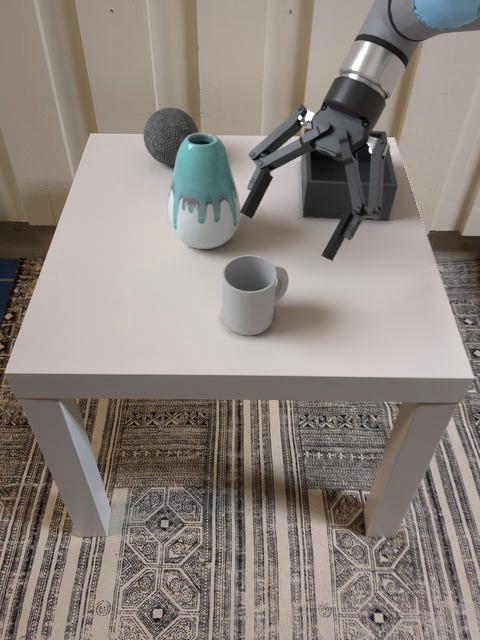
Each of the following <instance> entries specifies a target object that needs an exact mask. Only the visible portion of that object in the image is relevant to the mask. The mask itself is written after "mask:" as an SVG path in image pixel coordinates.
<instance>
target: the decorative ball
mask: <svg viewBox="0 0 480 640" xmlns="http://www.w3.org/2000/svg"><path fill="white" fill-rule="evenodd" d="M194 133H199V130H198V126H197V124H196V123H195V121H194V119H193V118H192V116H190V114H188V113H187V112H186V111H184V110H182V109H180V108H176V107H164V108H160V109H158V110H157V111H155V112H153V113H152V114H151V115H150V116H149V118H148V119H147V121H146V122H145V125H144V128H143V142H144V147H145V148H146V151H147V152H148V153H149V155H150V156H151V157H152V158H153V159H154V160H155V161H157V162H159V163H161V164H163V165H167V166H175V161H176V156H177V153H178V150H179V147H180V145H181V143H182V142H183V140H184V139H185V138H186V137H187V136H189V135H191V134H194Z"/></svg>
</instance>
